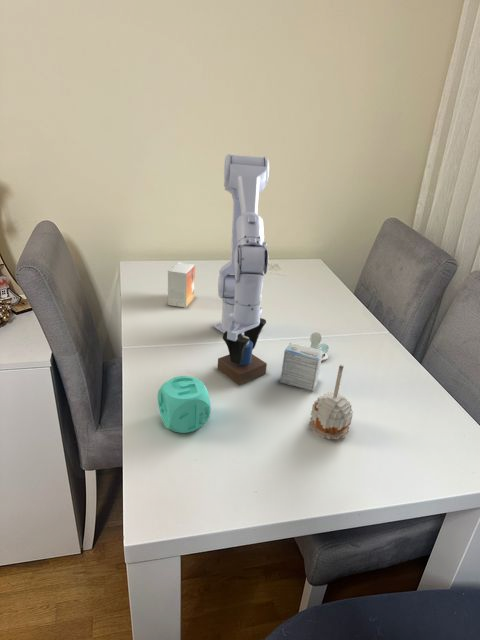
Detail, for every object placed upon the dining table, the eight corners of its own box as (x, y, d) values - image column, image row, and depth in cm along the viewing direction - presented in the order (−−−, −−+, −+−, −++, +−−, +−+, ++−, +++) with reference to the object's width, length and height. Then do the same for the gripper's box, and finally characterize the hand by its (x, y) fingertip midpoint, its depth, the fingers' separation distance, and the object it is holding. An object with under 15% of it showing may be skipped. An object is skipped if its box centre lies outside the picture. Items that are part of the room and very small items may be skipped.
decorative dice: (170, 437, 92) (170, 403, 88) (157, 413, 98) (157, 379, 94) (210, 427, 95) (211, 394, 91) (195, 404, 101) (196, 372, 97)
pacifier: (332, 362, 122) (323, 349, 127) (337, 340, 118) (327, 328, 123) (305, 364, 120) (296, 351, 124) (309, 342, 116) (300, 329, 121)
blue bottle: (238, 354, 114) (240, 332, 111) (253, 359, 113) (256, 336, 110) (230, 362, 111) (232, 339, 108) (246, 367, 110) (248, 344, 107)
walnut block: (243, 359, 119) (244, 348, 117) (265, 374, 114) (266, 363, 112) (217, 369, 114) (217, 358, 112) (239, 385, 109) (240, 374, 107)
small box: (186, 308, 140) (186, 273, 134) (167, 305, 140) (167, 270, 135) (194, 297, 147) (195, 264, 141) (177, 294, 147) (177, 261, 142)
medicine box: (317, 382, 113) (323, 350, 109) (313, 392, 109) (319, 359, 105) (285, 373, 115) (289, 341, 110) (279, 383, 111) (284, 350, 107)
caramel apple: (322, 411, 103) (334, 350, 96) (354, 428, 99) (369, 366, 92) (301, 428, 98) (312, 365, 90) (334, 446, 94) (348, 382, 86)
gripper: (244, 285, 112) (240, 337, 118) (215, 308, 100) (212, 364, 107) (273, 292, 110) (267, 344, 116) (246, 316, 98) (241, 373, 105)
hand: (242, 354), depth 111 cm, fingers open, 7 cm apart
